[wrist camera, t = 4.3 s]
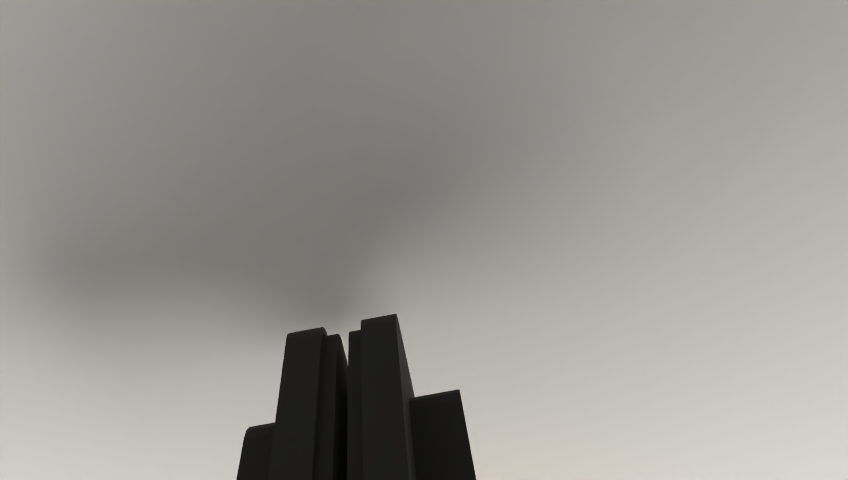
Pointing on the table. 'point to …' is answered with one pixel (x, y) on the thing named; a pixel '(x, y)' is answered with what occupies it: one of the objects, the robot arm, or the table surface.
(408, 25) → the table surface
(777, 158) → the table surface
